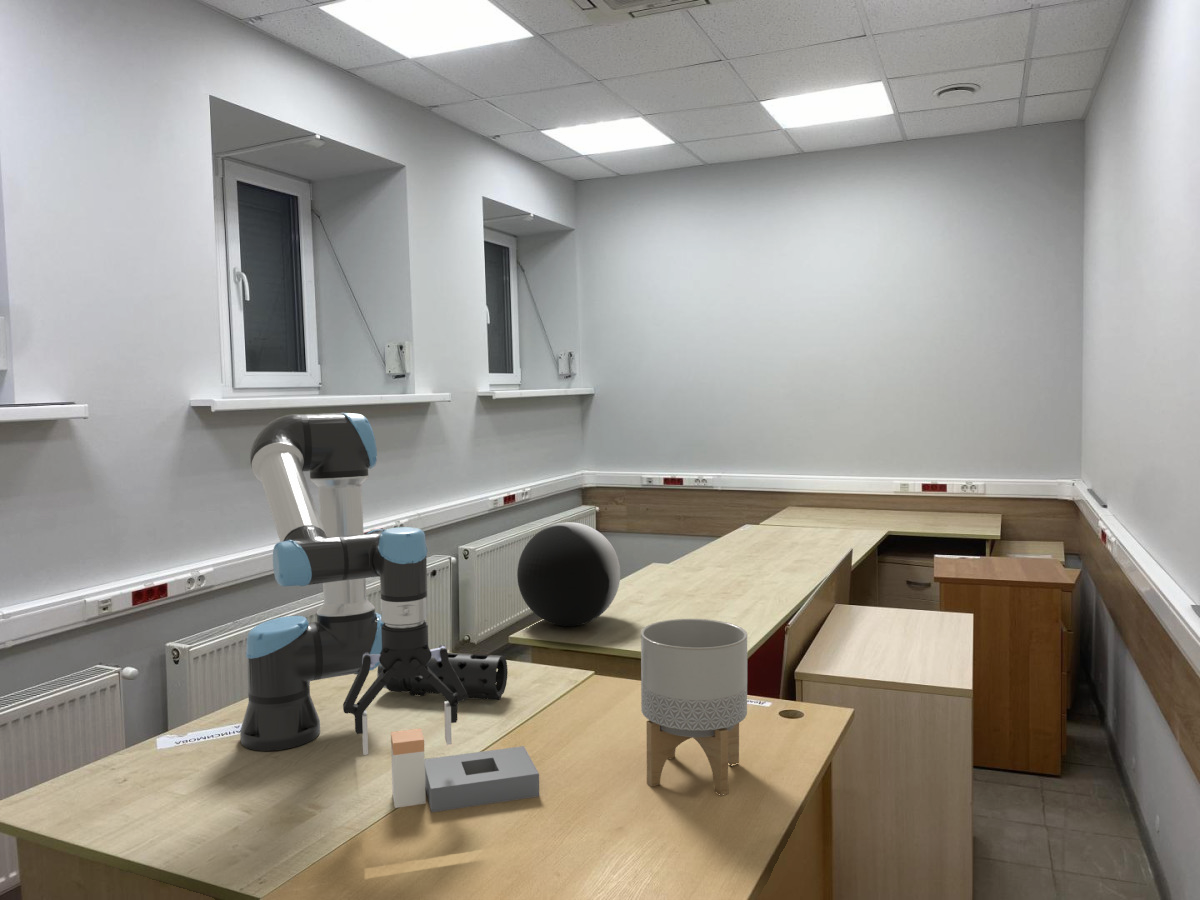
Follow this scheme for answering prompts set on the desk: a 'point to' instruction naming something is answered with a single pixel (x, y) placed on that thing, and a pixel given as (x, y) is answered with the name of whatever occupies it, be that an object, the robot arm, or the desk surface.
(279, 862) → the desk surface
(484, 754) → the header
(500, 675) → the muzzle brake
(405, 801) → the plug
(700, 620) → the planter
